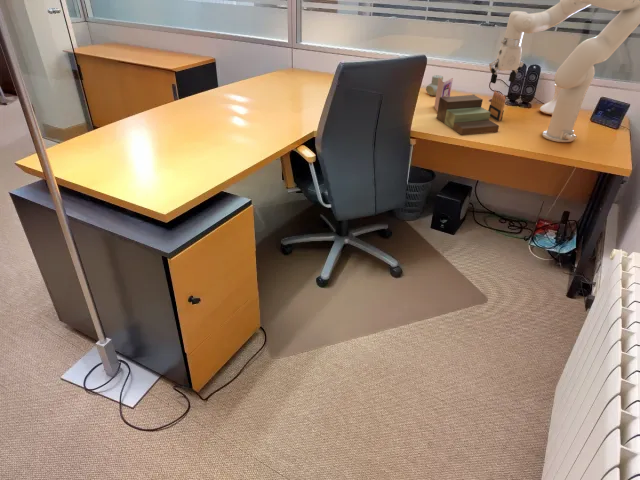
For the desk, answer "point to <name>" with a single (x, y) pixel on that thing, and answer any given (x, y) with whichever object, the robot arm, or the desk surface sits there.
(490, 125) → the step shelf
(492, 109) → the ammunition clip
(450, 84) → the greeting card
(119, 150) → the desk surface
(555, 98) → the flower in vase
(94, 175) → the desk surface
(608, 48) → the robot arm
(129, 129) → the desk surface
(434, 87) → the grey pipe tee fitting
